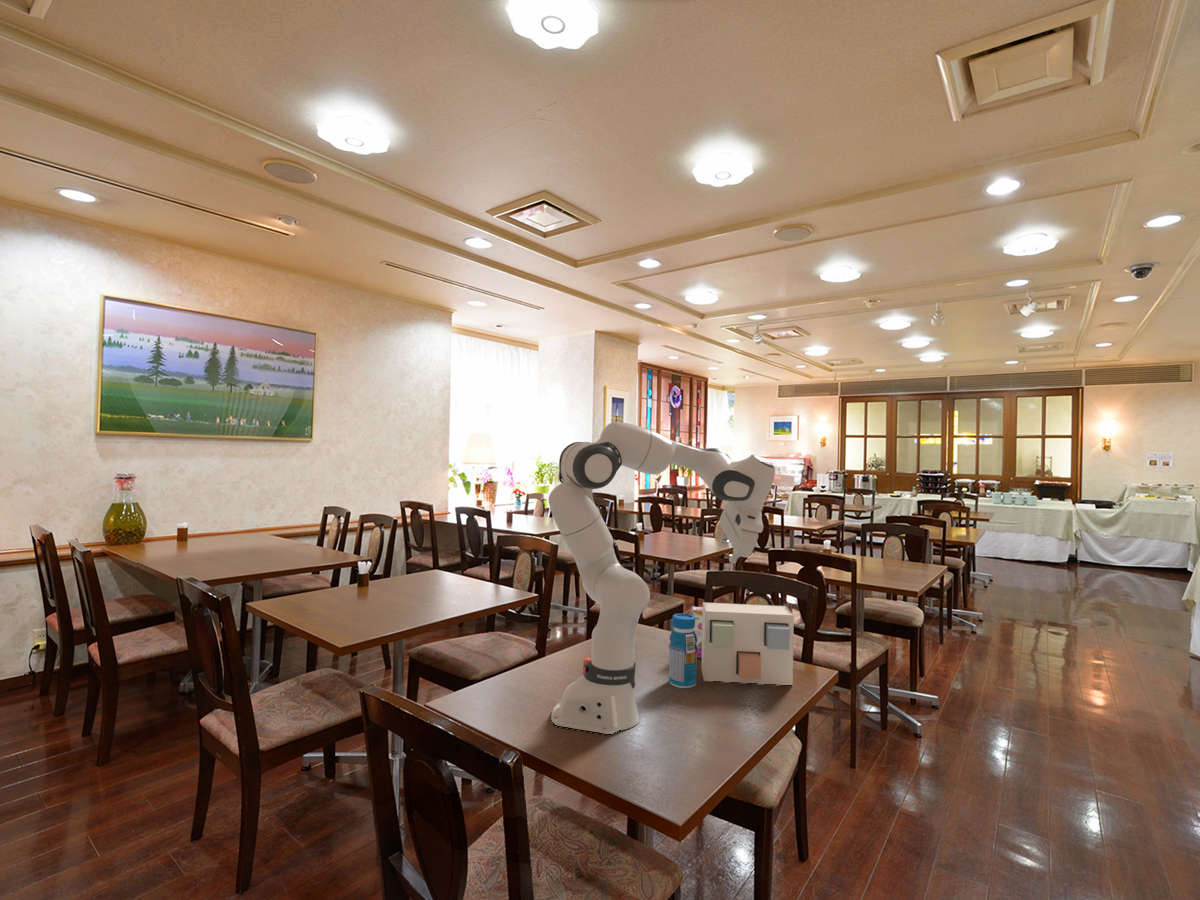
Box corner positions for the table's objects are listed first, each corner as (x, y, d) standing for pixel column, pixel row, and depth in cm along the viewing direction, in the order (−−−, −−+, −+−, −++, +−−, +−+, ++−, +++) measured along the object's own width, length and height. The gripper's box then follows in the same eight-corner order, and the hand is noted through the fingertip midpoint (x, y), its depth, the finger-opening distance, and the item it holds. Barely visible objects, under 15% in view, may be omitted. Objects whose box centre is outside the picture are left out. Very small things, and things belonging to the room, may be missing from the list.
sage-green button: (712, 645, 172) (712, 625, 172) (710, 639, 178) (711, 619, 178) (733, 646, 171) (733, 626, 171) (730, 640, 177) (731, 620, 177)
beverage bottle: (666, 687, 170) (667, 618, 170) (670, 676, 179) (671, 611, 179) (695, 690, 168) (697, 621, 168) (697, 679, 176) (699, 613, 177)
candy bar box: (690, 659, 194) (691, 609, 195) (689, 654, 199) (690, 606, 200) (724, 661, 193) (725, 611, 193) (722, 655, 198) (723, 607, 198)
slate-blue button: (768, 648, 170) (768, 628, 170) (764, 642, 176) (764, 622, 176) (789, 649, 169) (789, 629, 169) (784, 643, 175) (785, 623, 175)
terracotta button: (739, 677, 171) (740, 657, 171) (736, 670, 177) (737, 650, 177) (760, 679, 170) (760, 658, 170) (757, 671, 176) (757, 651, 176)
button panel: (703, 680, 176) (705, 611, 176) (701, 668, 186) (702, 602, 186) (792, 686, 173) (793, 615, 173) (785, 673, 183) (786, 606, 184)
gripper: (723, 492, 172) (708, 532, 176) (743, 526, 153) (725, 570, 157) (743, 497, 173) (728, 537, 177) (765, 531, 154) (747, 574, 158)
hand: (727, 553), depth 167 cm, fingers open, 8 cm apart
